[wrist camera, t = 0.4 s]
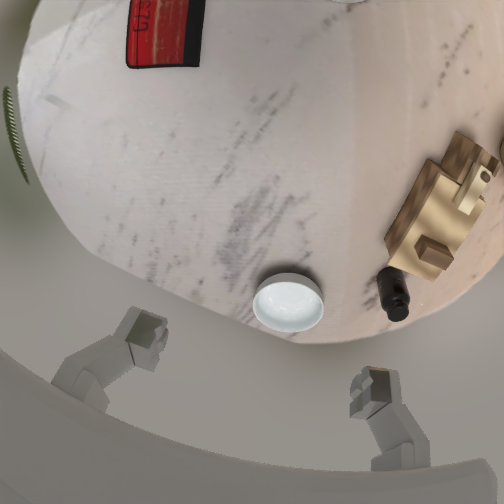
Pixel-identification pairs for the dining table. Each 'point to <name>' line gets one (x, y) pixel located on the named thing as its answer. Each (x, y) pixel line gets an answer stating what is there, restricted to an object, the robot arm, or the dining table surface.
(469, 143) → the open wooden box
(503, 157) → the plant pot
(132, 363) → the robot arm
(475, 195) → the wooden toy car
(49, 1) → the dining table surface
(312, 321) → the cereal bowl
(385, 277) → the supplement bottle
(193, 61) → the binder
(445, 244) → the lid
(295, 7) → the dining table surface
